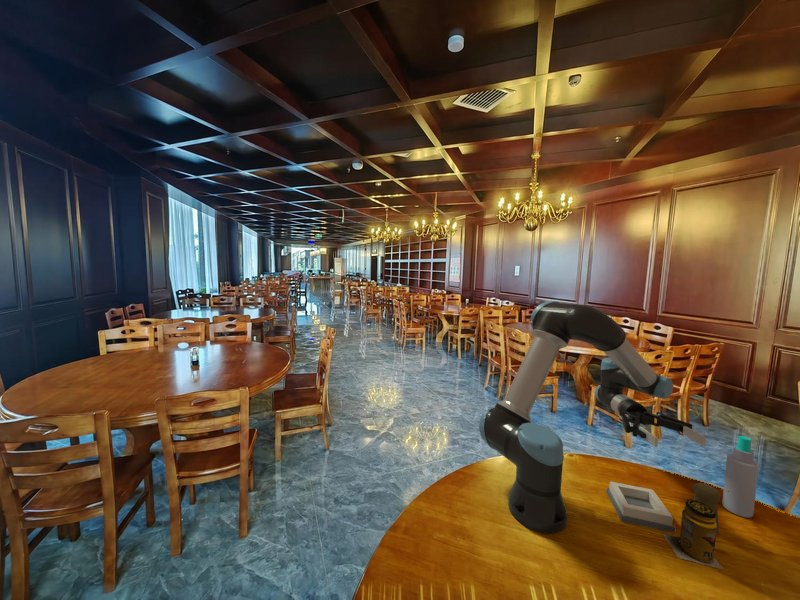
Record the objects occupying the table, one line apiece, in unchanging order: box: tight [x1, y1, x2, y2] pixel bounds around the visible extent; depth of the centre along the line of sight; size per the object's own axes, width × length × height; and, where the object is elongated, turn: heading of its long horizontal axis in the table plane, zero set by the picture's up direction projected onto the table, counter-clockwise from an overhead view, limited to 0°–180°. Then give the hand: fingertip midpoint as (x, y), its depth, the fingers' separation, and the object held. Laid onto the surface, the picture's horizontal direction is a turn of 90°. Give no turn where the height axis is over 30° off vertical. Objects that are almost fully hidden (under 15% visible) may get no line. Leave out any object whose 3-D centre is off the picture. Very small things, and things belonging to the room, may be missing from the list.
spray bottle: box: [721, 435, 760, 519], centre depth 87 cm, size 6×6×22 cm
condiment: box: [662, 498, 724, 569], centre depth 74 cm, size 7×8×12 cm
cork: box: [692, 482, 721, 535], centre depth 82 cm, size 6×6×11 cm
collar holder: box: [606, 481, 676, 534], centre depth 87 cm, size 12×12×4 cm
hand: (680, 442), depth 89 cm, fingers open, 13 cm apart
